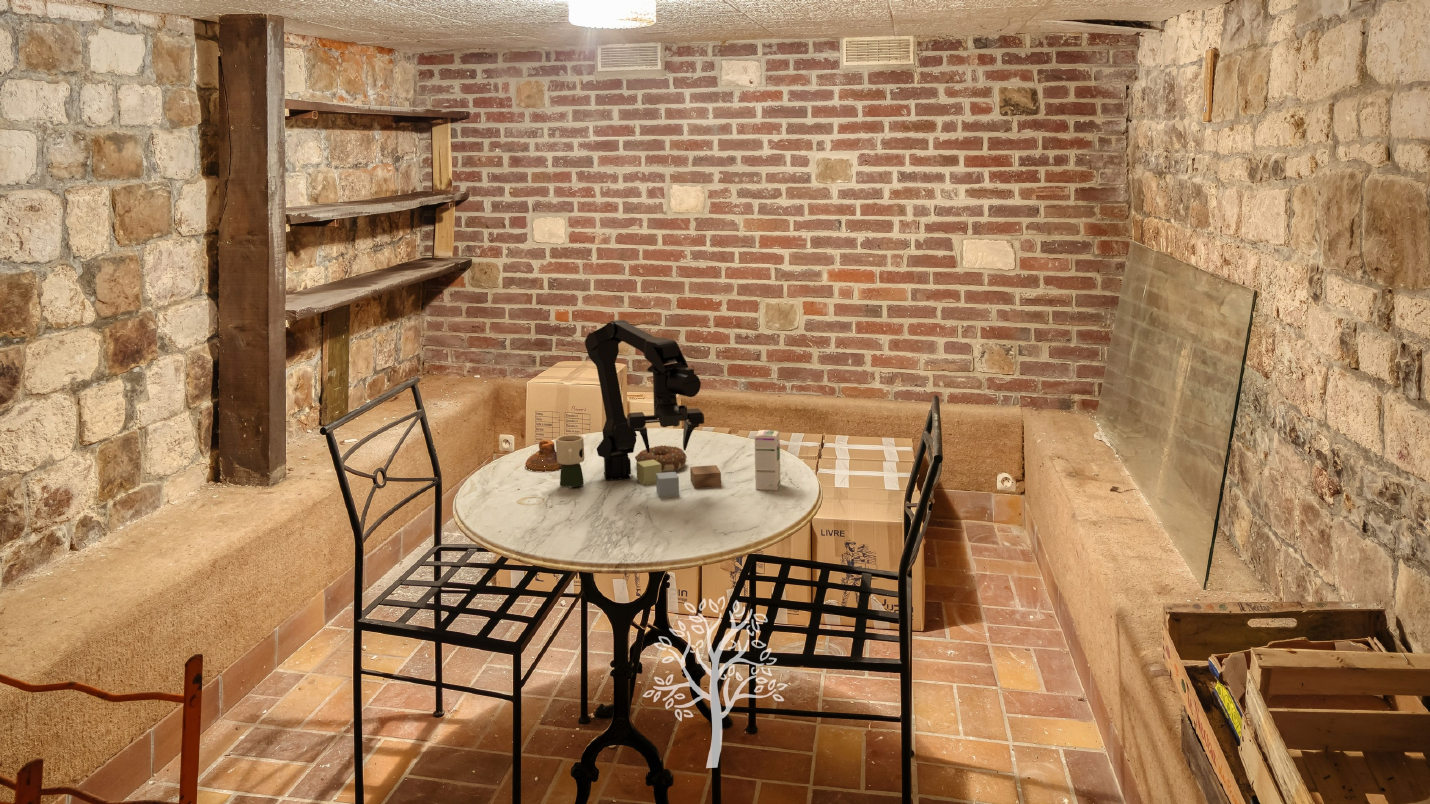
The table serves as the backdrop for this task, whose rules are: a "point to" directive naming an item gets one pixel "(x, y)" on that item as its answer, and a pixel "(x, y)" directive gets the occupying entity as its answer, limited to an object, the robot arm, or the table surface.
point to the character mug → (570, 459)
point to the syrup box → (767, 459)
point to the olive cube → (648, 471)
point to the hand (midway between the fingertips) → (666, 451)
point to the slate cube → (667, 484)
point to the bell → (544, 458)
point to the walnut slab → (705, 476)
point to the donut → (664, 457)
